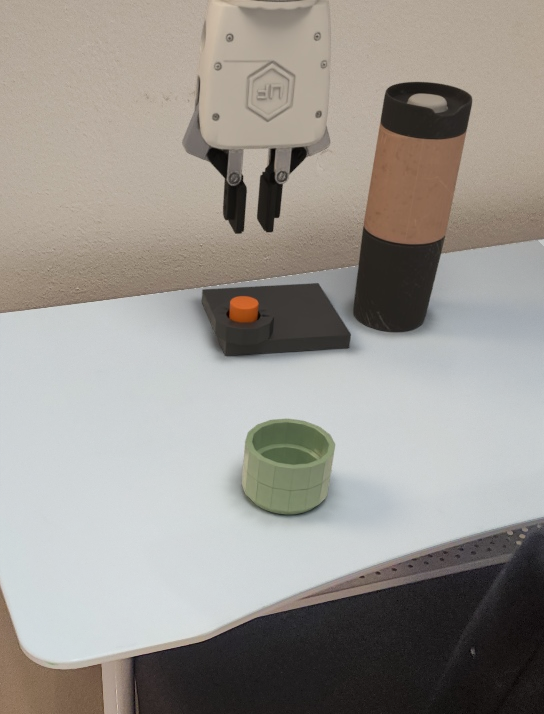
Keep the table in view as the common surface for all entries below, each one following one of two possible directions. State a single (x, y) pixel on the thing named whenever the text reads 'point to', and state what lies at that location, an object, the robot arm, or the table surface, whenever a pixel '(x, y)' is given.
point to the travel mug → (409, 202)
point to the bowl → (287, 465)
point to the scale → (277, 320)
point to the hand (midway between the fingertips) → (250, 225)
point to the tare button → (243, 309)
